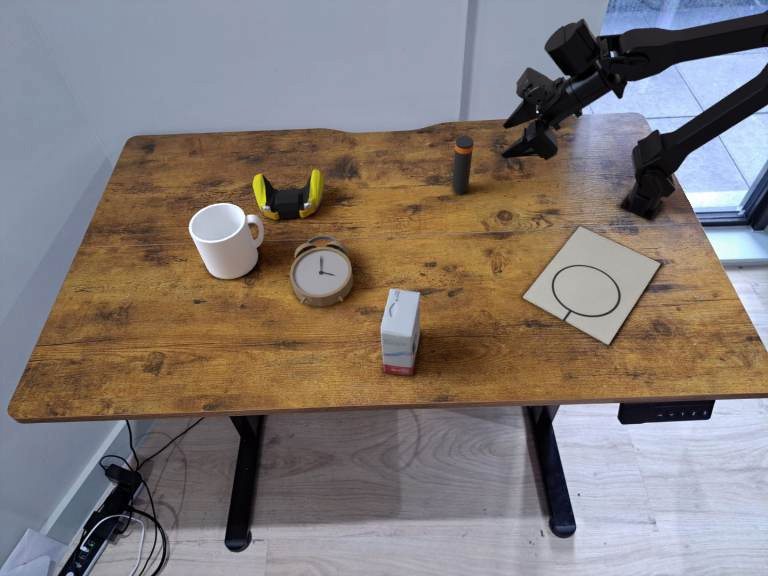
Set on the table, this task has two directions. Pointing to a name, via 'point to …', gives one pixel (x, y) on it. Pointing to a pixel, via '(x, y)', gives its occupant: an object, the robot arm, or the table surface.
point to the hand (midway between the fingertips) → (503, 141)
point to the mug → (226, 239)
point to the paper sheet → (592, 284)
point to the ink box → (400, 331)
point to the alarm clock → (321, 272)
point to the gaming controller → (289, 197)
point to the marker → (462, 164)
